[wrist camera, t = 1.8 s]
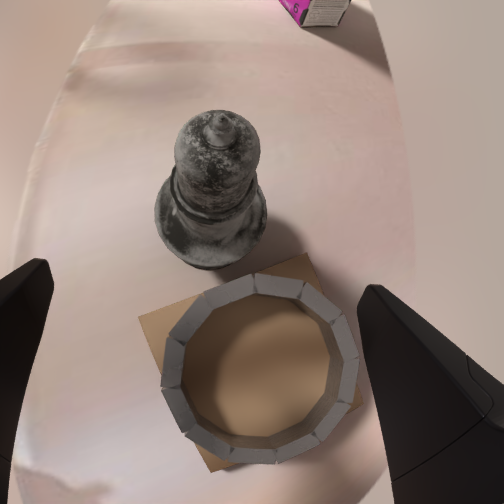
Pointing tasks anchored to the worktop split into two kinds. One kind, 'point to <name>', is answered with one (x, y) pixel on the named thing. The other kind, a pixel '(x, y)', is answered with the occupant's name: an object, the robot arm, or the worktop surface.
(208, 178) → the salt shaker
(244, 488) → the worktop surface
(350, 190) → the worktop surface
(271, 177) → the worktop surface
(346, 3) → the candy bar box
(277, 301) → the socket base
